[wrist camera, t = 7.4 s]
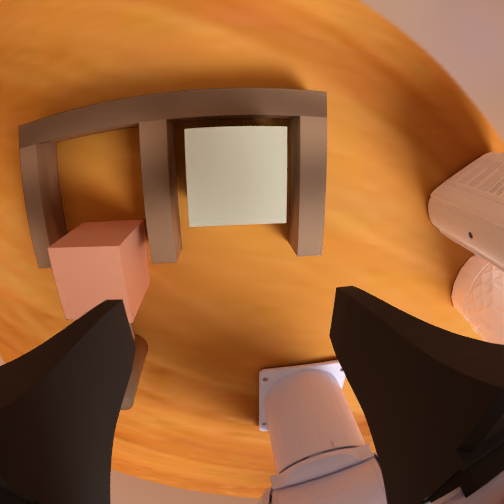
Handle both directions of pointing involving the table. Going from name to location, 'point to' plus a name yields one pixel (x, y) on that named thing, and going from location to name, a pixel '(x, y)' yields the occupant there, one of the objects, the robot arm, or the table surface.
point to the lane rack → (163, 159)
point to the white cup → (481, 298)
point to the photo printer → (473, 208)
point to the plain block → (236, 175)
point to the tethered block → (104, 276)
